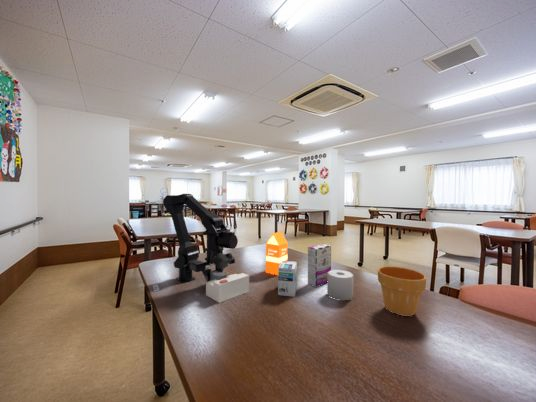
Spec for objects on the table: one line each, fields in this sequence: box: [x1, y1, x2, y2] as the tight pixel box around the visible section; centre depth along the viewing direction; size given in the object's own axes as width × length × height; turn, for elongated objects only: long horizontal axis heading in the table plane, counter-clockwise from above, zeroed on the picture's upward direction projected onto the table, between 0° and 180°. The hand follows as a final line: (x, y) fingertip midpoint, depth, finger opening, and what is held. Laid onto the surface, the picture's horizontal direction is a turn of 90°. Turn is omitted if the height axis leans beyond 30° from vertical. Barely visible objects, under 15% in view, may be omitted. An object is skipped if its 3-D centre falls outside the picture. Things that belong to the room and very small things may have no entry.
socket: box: [205, 272, 250, 304], centre depth 91 cm, size 9×14×7 cm, turn 135°
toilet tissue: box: [326, 269, 354, 301], centre depth 93 cm, size 9×13×9 cm
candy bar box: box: [307, 243, 332, 288], centre depth 104 cm, size 11×5×16 cm, turn 131°
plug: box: [210, 269, 228, 281], centre depth 96 cm, size 10×4×6 cm, turn 45°
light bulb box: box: [277, 260, 298, 298], centre depth 95 cm, size 11×7×11 cm, turn 168°
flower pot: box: [377, 266, 427, 315], centre depth 79 cm, size 14×14×13 cm
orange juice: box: [265, 231, 289, 276], centre depth 118 cm, size 8×9×20 cm
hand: (213, 282), depth 99 cm, fingers closed on plug, 4 cm apart
